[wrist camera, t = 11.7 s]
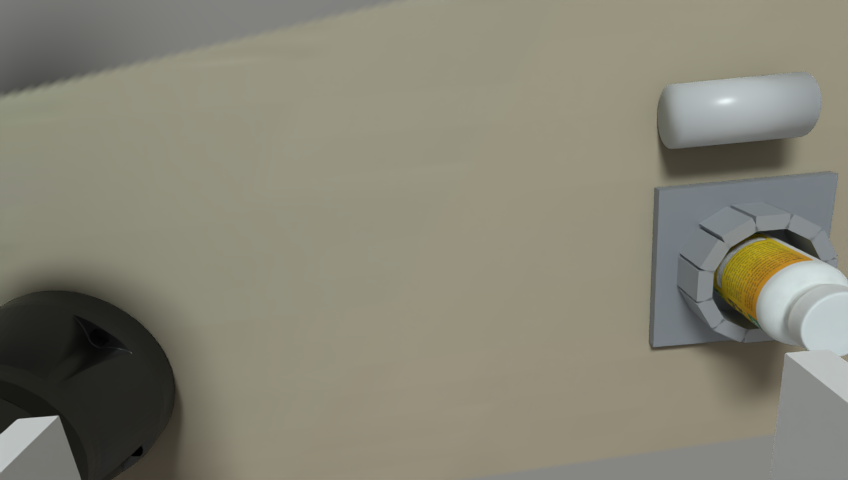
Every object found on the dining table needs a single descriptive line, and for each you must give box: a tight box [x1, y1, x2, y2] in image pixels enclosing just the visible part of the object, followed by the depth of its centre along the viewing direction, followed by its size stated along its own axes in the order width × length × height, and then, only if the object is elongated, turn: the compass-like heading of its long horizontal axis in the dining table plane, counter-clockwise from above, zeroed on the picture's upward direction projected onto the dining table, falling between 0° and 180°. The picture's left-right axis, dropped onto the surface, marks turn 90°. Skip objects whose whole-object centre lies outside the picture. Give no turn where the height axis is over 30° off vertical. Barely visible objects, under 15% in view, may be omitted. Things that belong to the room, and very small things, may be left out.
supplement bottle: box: [713, 231, 848, 357], centre depth 34 cm, size 5×5×10 cm
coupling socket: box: [649, 172, 838, 347], centre depth 38 cm, size 12×12×4 cm
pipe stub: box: [657, 72, 821, 149], centre depth 35 cm, size 8×4×4 cm, turn 95°
